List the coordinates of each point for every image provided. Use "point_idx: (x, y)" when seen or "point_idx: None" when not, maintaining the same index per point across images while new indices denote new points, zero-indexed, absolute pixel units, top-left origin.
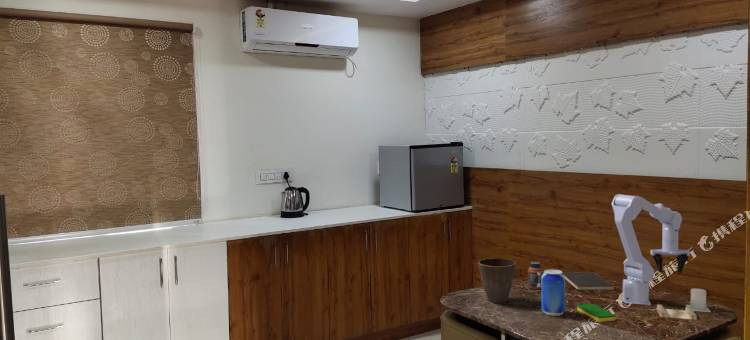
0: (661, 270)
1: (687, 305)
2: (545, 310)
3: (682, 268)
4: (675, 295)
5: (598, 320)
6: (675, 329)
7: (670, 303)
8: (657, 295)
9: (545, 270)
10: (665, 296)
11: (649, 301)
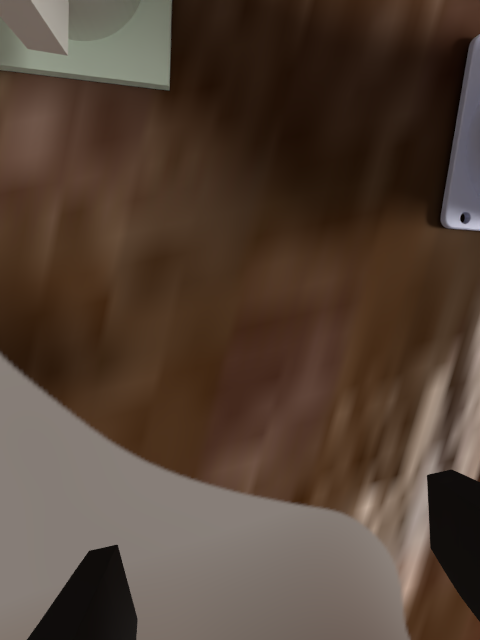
0: (471, 494)
1: (157, 61)
2: None
3: (34, 635)
4: (181, 417)
5: None
6: None
7: (282, 158)
8: (323, 382)
9: None
10: (268, 368)
11: (461, 131)
